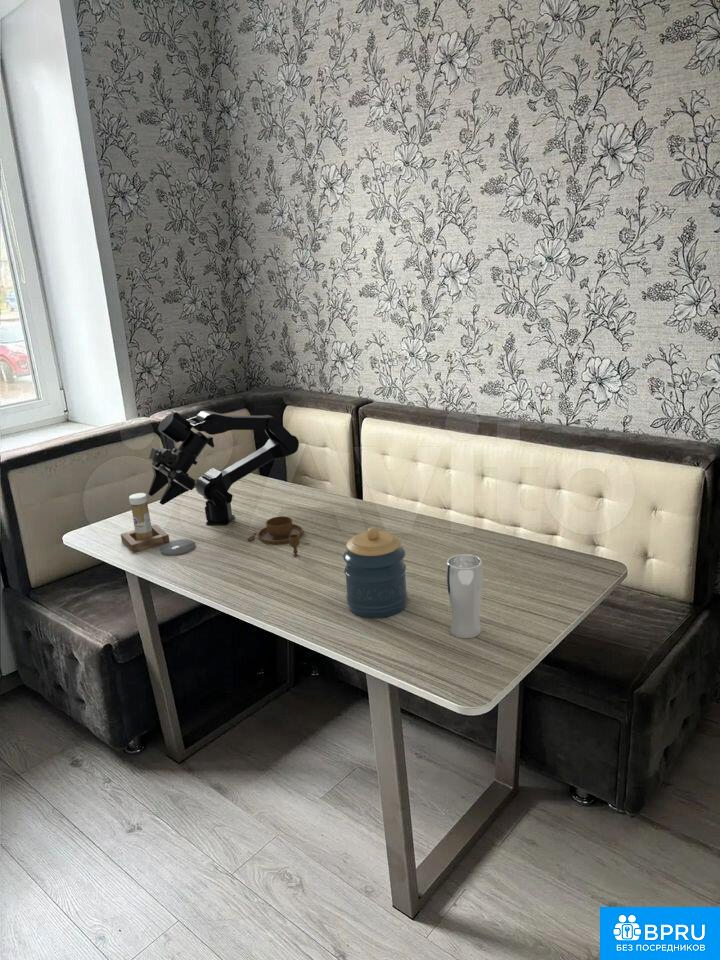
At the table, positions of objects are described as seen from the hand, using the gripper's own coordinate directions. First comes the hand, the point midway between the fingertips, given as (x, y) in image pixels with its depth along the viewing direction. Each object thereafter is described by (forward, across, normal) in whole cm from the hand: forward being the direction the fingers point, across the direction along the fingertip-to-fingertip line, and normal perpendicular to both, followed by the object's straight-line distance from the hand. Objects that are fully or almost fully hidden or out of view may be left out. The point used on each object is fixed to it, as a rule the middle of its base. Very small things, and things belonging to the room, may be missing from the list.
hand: (155, 499), depth 197 cm
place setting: (-8, +25, +24) cm, 36 cm away
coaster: (+7, +10, +8) cm, 15 cm away
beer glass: (-14, +90, +30) cm, 96 cm away
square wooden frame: (+11, 0, +5) cm, 12 cm away
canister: (-9, +70, +25) cm, 75 cm away
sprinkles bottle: (+11, 0, +5) cm, 12 cm away
